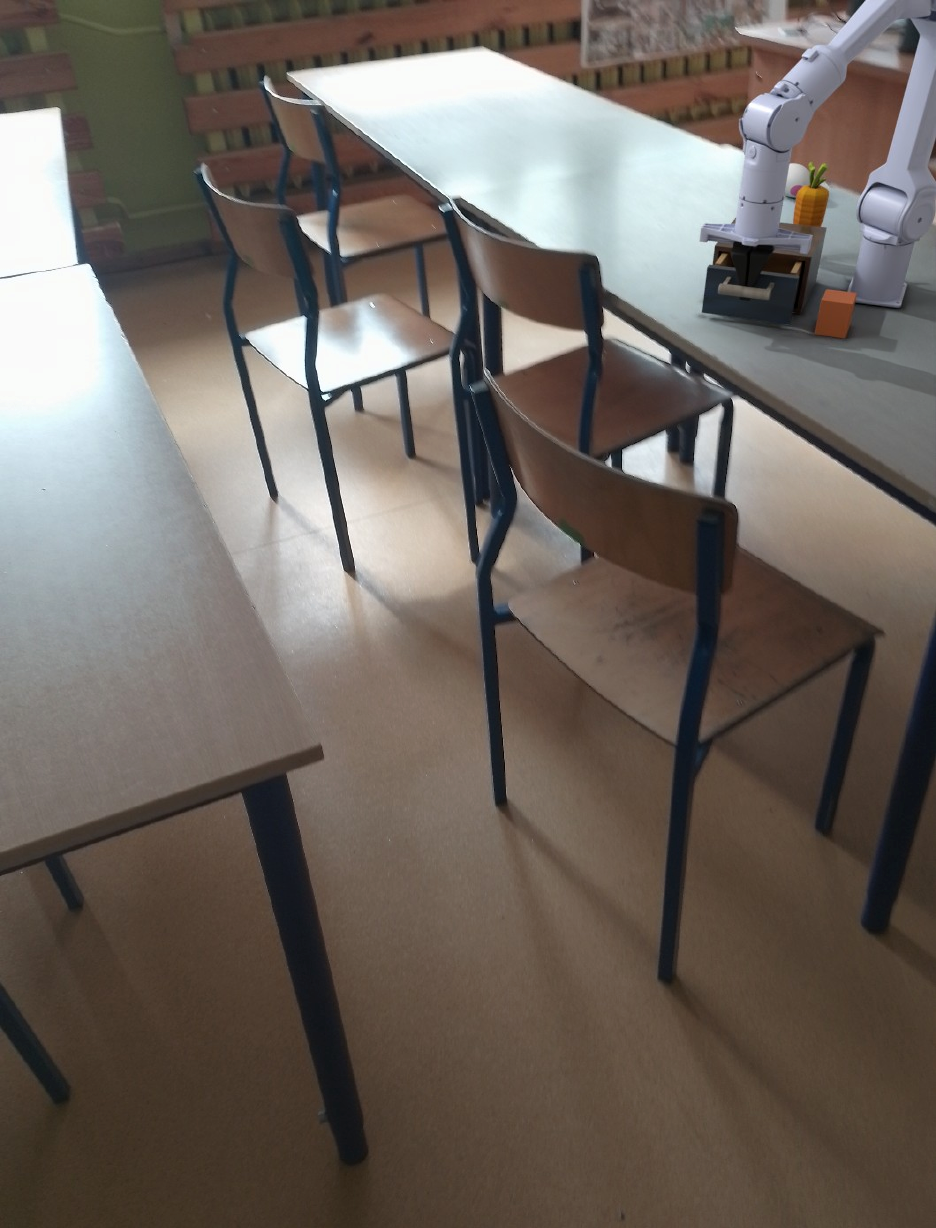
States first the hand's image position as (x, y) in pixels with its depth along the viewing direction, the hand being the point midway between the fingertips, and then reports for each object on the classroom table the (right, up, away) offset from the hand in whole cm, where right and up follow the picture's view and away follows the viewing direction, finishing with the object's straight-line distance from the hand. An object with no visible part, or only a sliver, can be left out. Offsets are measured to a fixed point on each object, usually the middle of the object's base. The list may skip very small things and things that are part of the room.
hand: (745, 298), depth 138 cm
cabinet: (+6, +5, +13) cm, 16 cm away
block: (+13, -4, +2) cm, 13 cm away
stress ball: (+23, +35, +49) cm, 64 cm away
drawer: (+2, 0, +6) cm, 7 cm away
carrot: (+16, +14, +24) cm, 32 cm away
